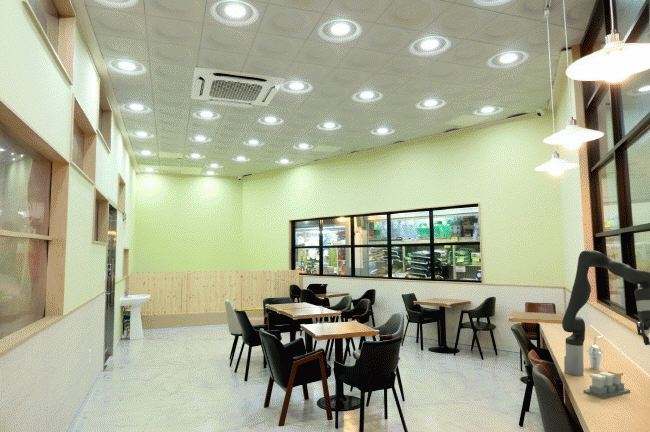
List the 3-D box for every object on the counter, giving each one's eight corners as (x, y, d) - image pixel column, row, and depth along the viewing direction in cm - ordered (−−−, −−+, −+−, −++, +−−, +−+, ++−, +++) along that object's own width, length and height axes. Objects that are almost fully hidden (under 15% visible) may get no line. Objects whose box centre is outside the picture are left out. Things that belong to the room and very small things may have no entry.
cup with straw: (587, 365, 276) (586, 333, 278) (604, 367, 272) (603, 335, 273) (587, 368, 269) (586, 335, 270) (604, 371, 265) (604, 337, 266)
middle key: (609, 387, 222) (609, 375, 222) (599, 384, 226) (599, 372, 227) (614, 386, 224) (614, 374, 224) (604, 383, 229) (604, 371, 229)
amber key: (618, 385, 226) (617, 373, 226) (608, 382, 230) (607, 371, 230) (623, 384, 228) (623, 372, 228) (613, 381, 232) (613, 370, 233)
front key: (600, 389, 218) (600, 377, 218) (590, 386, 222) (590, 374, 223) (605, 388, 220) (605, 376, 221) (595, 385, 225) (595, 373, 225)
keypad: (603, 399, 215) (603, 390, 215) (583, 392, 224) (583, 384, 224) (630, 392, 226) (630, 384, 226) (610, 386, 235) (610, 378, 235)
